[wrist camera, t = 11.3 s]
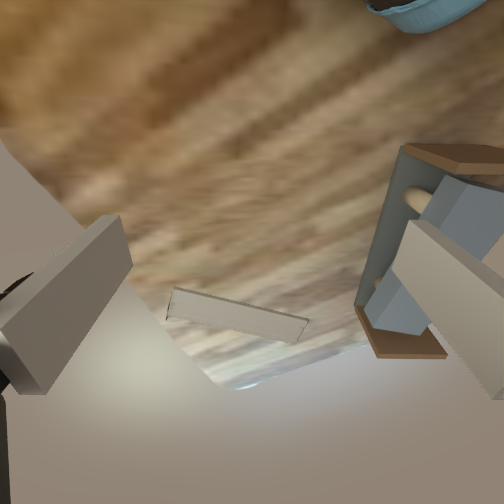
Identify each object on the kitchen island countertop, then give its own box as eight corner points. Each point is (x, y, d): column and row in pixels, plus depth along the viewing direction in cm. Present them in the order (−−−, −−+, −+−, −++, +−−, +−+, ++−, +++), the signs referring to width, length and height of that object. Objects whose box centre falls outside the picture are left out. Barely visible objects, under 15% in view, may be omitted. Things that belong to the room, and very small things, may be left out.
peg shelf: (353, 306, 57) (377, 358, 46) (401, 142, 40) (459, 163, 29) (408, 307, 57) (445, 359, 46) (480, 143, 40) (568, 164, 29)
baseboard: (290, 344, 65) (306, 316, 60) (291, 354, 62) (309, 325, 57) (167, 317, 60) (174, 284, 55) (164, 326, 57) (171, 292, 53)
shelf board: (363, 309, 50) (372, 327, 46) (445, 174, 36) (468, 184, 32) (407, 317, 51) (419, 335, 47) (502, 188, 37) (531, 199, 33)
